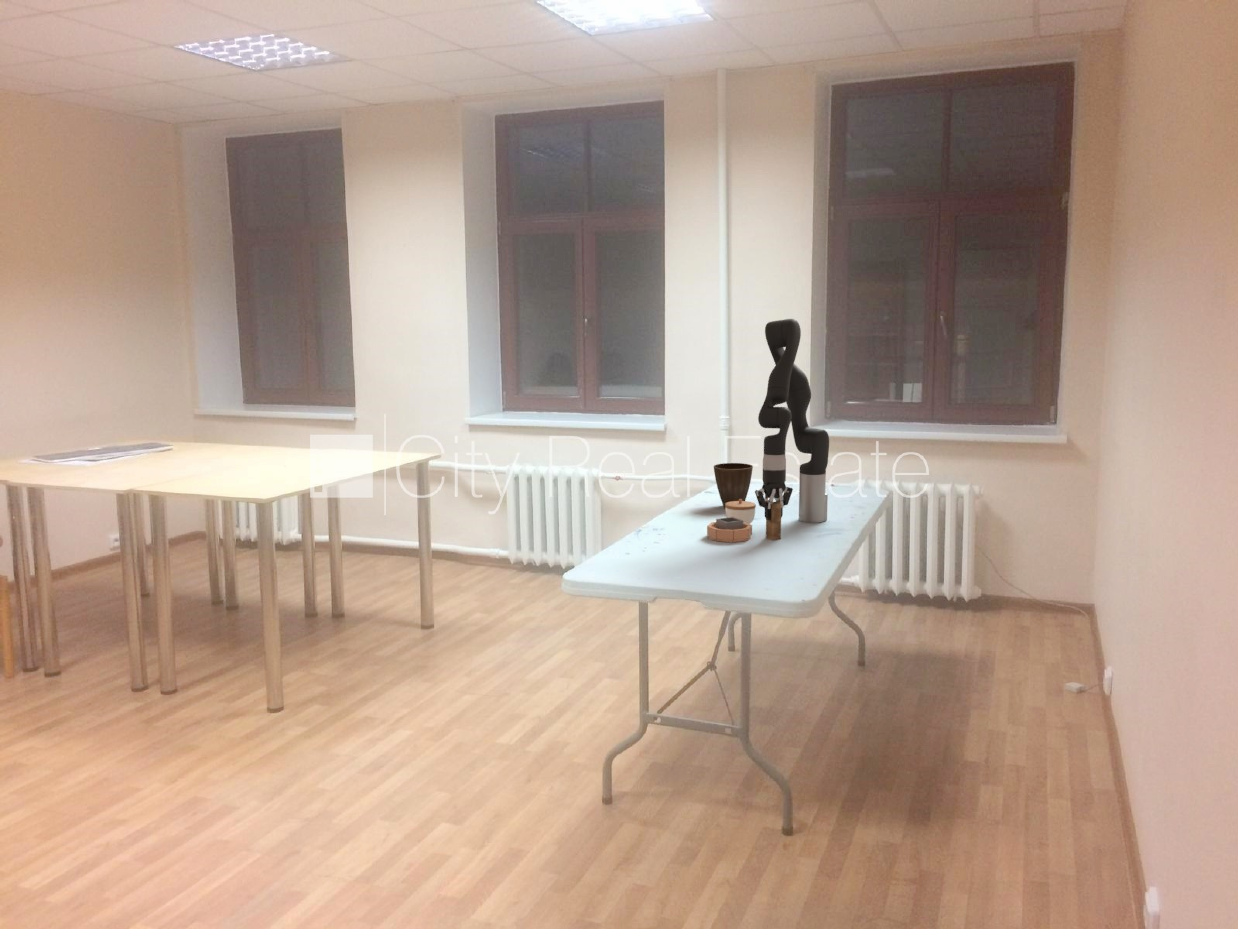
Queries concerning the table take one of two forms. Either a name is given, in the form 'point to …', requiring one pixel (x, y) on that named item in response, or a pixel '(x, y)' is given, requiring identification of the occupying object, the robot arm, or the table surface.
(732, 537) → the candle pot
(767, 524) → the brown long rectangular block
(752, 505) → the lidded jar
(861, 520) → the table surface
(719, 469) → the plant pot
